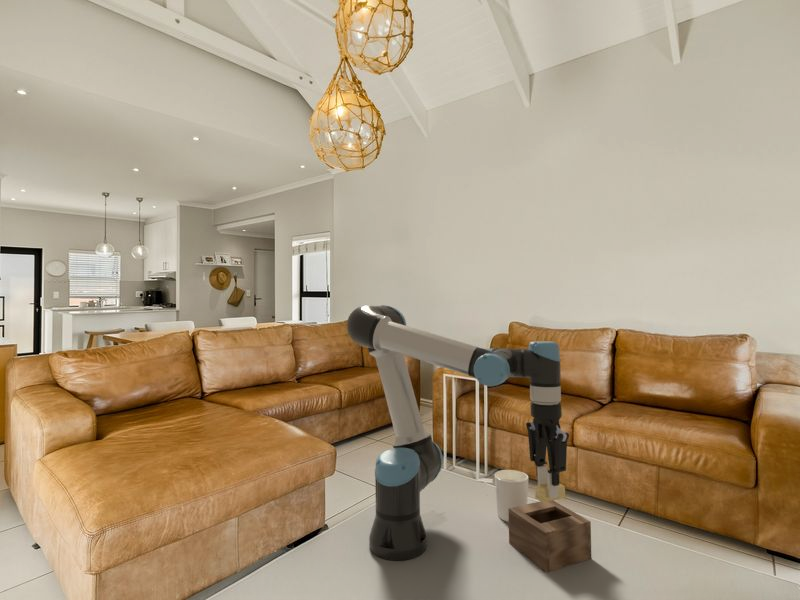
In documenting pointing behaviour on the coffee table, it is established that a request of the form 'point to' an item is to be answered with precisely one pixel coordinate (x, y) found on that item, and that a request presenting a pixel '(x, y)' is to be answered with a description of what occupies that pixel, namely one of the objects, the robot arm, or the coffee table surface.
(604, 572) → the coffee table surface
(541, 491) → the yellow rectangular block
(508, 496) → the candle holder
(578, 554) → the box
